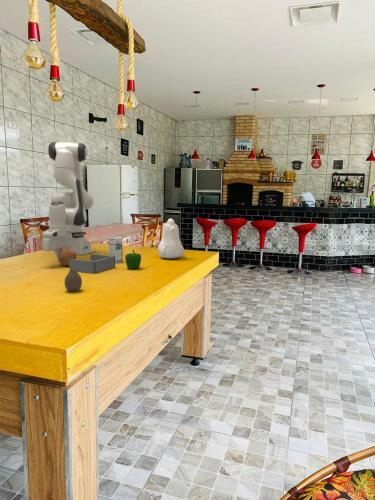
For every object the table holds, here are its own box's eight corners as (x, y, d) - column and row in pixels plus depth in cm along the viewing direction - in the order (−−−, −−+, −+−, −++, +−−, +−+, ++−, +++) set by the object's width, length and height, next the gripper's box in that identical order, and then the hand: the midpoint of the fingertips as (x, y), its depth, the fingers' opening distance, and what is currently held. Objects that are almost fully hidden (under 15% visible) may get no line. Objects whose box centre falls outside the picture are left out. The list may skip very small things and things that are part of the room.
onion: (79, 264, 213) (79, 246, 212) (72, 268, 204) (72, 249, 202) (62, 263, 214) (62, 246, 213) (55, 267, 204) (54, 248, 203)
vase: (75, 287, 164) (75, 267, 162) (85, 290, 159) (85, 269, 158) (61, 290, 158) (60, 269, 157) (71, 293, 154) (70, 272, 153)
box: (91, 264, 214) (91, 253, 213) (115, 267, 208) (115, 256, 207) (69, 270, 197) (69, 259, 196) (94, 273, 191) (94, 261, 190)
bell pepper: (138, 270, 201) (138, 251, 199) (123, 269, 202) (123, 250, 201) (143, 267, 209) (143, 249, 207) (128, 266, 211) (128, 248, 209)
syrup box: (115, 263, 219) (115, 238, 217) (108, 262, 222) (108, 237, 220) (122, 262, 223) (122, 237, 221) (115, 260, 227) (115, 236, 225)
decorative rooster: (184, 260, 231) (185, 219, 227) (158, 260, 230) (158, 219, 226) (181, 254, 256) (182, 216, 252) (157, 253, 254) (158, 216, 251)
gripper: (66, 230, 219) (67, 254, 221) (39, 233, 200) (40, 259, 202) (75, 230, 216) (76, 255, 218) (49, 234, 198) (49, 260, 200)
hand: (58, 257), depth 210 cm, fingers closed, pressing on onion
